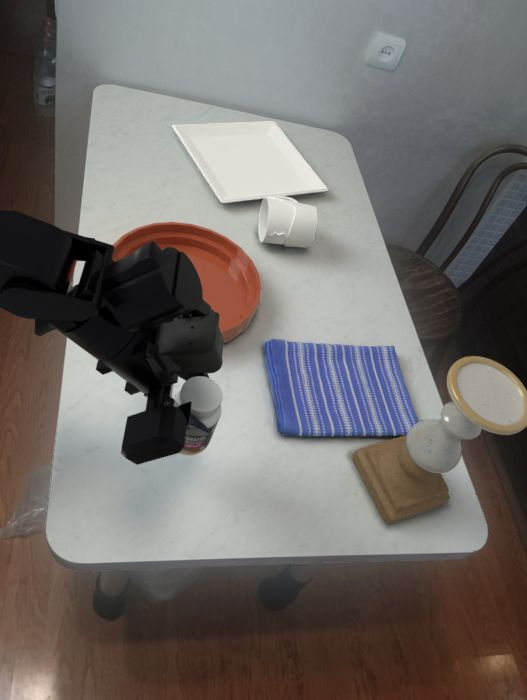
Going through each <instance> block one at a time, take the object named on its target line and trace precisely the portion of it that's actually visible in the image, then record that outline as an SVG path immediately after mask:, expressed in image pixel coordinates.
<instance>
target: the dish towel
mask: <svg viewBox="0 0 527 700" xmlns="http://www.w3.org/2000/svg"><path fill="white" fill-rule="evenodd" d="M263 349H264V356H265V363H266V368H267V373H268V378H269V382H270V389H271V394H272V399H273V406H274V410H275V411H274V412H275V419H276V424H277V432H278V433H279V434H281V435H282V436H298V437H315V438H318V437H320V438H321V437H323V438H326V437H329V438H333V437H345V438H346V437H349V438H350V437H362V438H365V437H375V438H377V437H378V438H380V437H384V438H386V437H392V438H397V437H401V436H405V435H407V434H408V431H409V430H410V428H411V427H412V426H413V425H415V424H416V423H418V422H419V419H418V415H417V413H416V410H415V408H414V406H413V402H412V400H411V397H410V396H411V395H410V393H409V391H408V387H407V385H406V383H405V379H404V376H403V373H402V369H401V365H400V362H399V359H398V356H397V352H396V347H395V345H375V346H373V345H372V346H371V345H356V344H346V345H345V344H339V343H337V344H336V343H335V344H330V343H316V342H301V341H289V340H286V339H280V338H273V337H271V338H270V339H269V340H267V341H264V342H263Z"/></svg>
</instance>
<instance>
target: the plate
mask: <svg viewBox="0 0 527 700" xmlns="http://www.w3.org/2000/svg"><path fill="white" fill-rule="evenodd" d="M171 127H172V129H173V130H174V132H175V133H176V135H177V136H178V138H179V140H180V142H181V143H182V144H183V146H184V148H185V149H186V151H187V152H188V154H189V155H190V157H191V158H192V160H193V162H194V163H195V165H196V167H197V168H198V169H199V171H200V172H201V174H202V176H203V177H204V179H205V180H206V182H207V184H208V185H209V186H210V188H211V190H212V191H213V193H214V195H215V196H216V197H217V199H218V200H219V202H220V203H222V204H230V203H238V202H248V201H254V200H255V201H256V200H263V199H264V198H265V197H275V196H285V197H290V196H291V197H292V196H298V195H299V196H300V195H308V194H315V193H325V192H329V190H330V189H329V188H328V187H327V186H326V184H325V183H324V182H323V180H322V179H321V178H320V177H319V175H318V174H317V173H316V172H315V170H314V169H313V168H312V167H311V165H310V164H309V163H308V161H307V160H306V158H304V157H303V155H302V153H301V152H299V150H298V148H296V146H295V145H294V143H292V141H291V140H290V139H289V137H288V136H287V135H286V134H285V133H284V131H283V130H282V129H281V127H280V126H279V125H278V124H277V123H276V121H274V120H259V121H256V120H255V121H236V122H233V121H232V122H207V123H206V122H205V123H186V124H185V123H184V124H183V123H182V124H172V125H171Z"/></svg>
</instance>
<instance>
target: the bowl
mask: <svg viewBox="0 0 527 700" xmlns="http://www.w3.org/2000/svg"><path fill="white" fill-rule="evenodd" d="M149 242H155V243H156V244H157V245H158V246H159V247H160V248H161V249H164V248H166V247H172V248H175V249H177V250H178V251H180V252H181V251H183V252H184V253H185V254H186V255H187V256H188V258H189V259H190V260H191V262H192V263H193V265H194V267H195V268H196V271H197V273H198V275H199V278H200V281H201V285H202V290H203V300H204V301H205V302H207V303H208V304H209V305H210V306H211V309H212V310H214V312H217V313H219V315H220V317H219V328H220V331H221V334H222V336H223V339H224V344H226V343H229V342H230V341H232V340H234V339H236V338H237V337H238V336H240V335H241V334H242V333H243V332H244V331H245V330H247V328H248V327H249V325H250V324H251V322H252V320H253V319H254V317H255V315H256V312H257V308H258V307H259V304H260V300H261V295H262V289H263V288H262V282H261V277H260V273H259V270H258V269H257V267H256V265H255V263H254V262H253V261H254V260H252V259H251V257H250V256H249V255H248V254H247V253H246V252H245V250H244V249H243V248H242V247H241V246H240V245H238V244H236V242H234V241H233V240H231V239H230V238H228V237H227V236H225V235H223V234H221V233H219V232H217V231H215V230H213V229H210V228H208V227H204V226H200V225H196V224H193V223H186V222H177V221H166V222H165V221H164V222H154V223H150V224H145V225H142V226H138V227H135V228H134V229H131V230H130V231H128V232H126V233H124V234H123V235H122V236H121V237H119V239H117V240H116V241H115V242H114V244H112V245H113V246H114V247H115V252H114V255H113V260H114V261H115V262H116V261H118V260H120V259H122V258H124V257H126V256H128V255H130V254H132V253H134V252H135V251H137V250H138V249H139V248H140V247H142V246H143V245H145V244H147V243H149Z"/></svg>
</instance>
